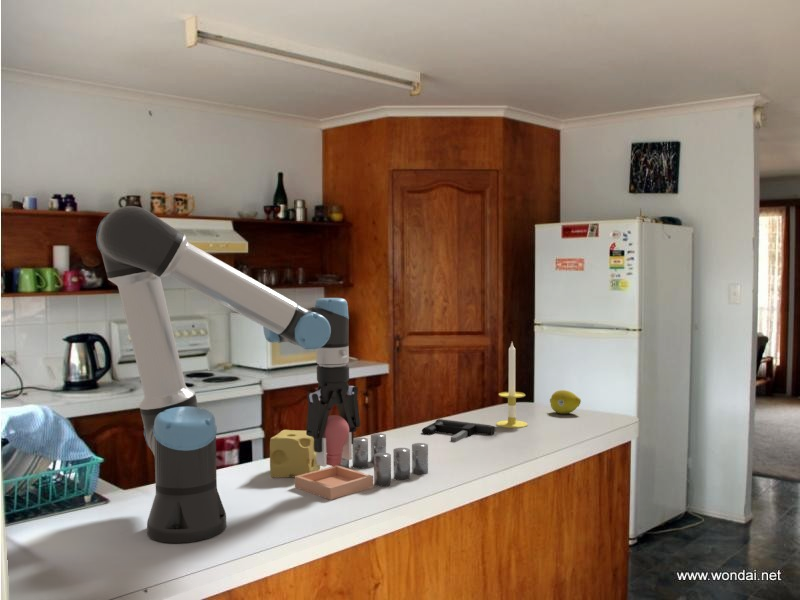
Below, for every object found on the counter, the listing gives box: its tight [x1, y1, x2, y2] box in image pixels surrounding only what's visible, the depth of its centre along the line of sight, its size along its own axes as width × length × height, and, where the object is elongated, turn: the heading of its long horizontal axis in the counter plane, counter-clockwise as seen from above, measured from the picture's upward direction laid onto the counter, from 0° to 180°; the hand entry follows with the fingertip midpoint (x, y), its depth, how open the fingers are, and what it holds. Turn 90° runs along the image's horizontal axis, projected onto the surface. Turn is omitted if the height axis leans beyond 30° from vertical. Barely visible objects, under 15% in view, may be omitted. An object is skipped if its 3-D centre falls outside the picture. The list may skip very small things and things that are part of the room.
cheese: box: [269, 429, 321, 479], centre depth 187 cm, size 10×11×10 cm
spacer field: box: [338, 432, 429, 488], centre depth 187 cm, size 17×19×7 cm
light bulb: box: [323, 414, 349, 467], centre depth 175 cm, size 7×7×12 cm
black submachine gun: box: [421, 418, 496, 443], centre depth 227 cm, size 3×20×16 cm
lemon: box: [549, 389, 582, 415], centre depth 256 cm, size 11×8×8 cm
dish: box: [294, 465, 374, 501], centre depth 175 cm, size 13×13×3 cm
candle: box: [495, 342, 528, 429], centre depth 239 cm, size 10×10×27 cm
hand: (334, 461), depth 175 cm, fingers closed on light bulb, 7 cm apart
